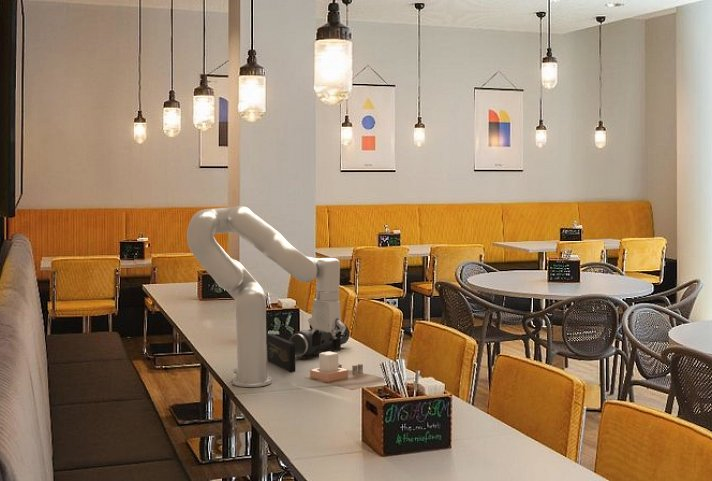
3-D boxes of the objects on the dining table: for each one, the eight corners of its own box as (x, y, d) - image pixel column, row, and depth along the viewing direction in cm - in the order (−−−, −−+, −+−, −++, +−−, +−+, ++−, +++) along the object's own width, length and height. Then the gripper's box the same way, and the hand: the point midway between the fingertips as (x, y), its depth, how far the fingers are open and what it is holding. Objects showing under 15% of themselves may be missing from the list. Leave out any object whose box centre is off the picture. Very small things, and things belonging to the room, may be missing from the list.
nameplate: (267, 361, 323) (266, 334, 322) (271, 360, 324) (271, 333, 323) (290, 372, 304) (289, 343, 303) (295, 372, 305) (295, 343, 304)
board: (304, 380, 292) (304, 368, 292) (344, 371, 304) (344, 360, 304) (352, 393, 275) (351, 380, 275) (392, 383, 288) (392, 370, 287)
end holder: (310, 377, 292) (310, 369, 292) (330, 372, 298) (330, 365, 298) (327, 381, 286) (327, 374, 286) (348, 377, 292) (348, 369, 292)
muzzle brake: (350, 348, 345) (350, 322, 344) (308, 362, 321) (307, 333, 320) (329, 345, 350) (329, 319, 349) (286, 359, 326) (286, 331, 325)
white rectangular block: (319, 377, 292) (319, 353, 292) (329, 375, 295) (329, 351, 295) (328, 379, 289) (328, 355, 288) (338, 377, 292) (338, 353, 291)
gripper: (301, 293, 294) (300, 345, 295) (336, 300, 281) (335, 353, 282) (318, 292, 299) (317, 342, 300) (354, 298, 286) (352, 351, 287)
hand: (325, 348), depth 291 cm, fingers open, 9 cm apart
